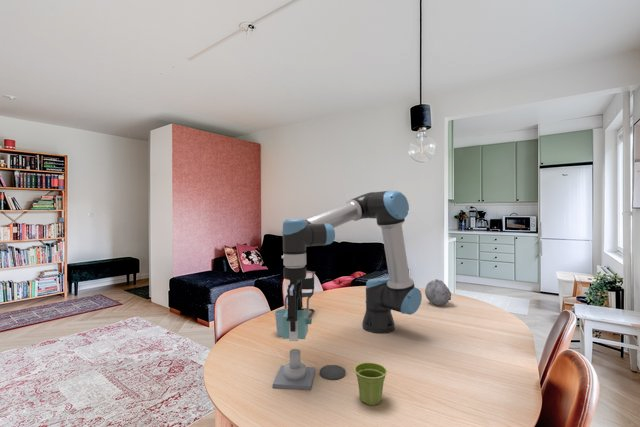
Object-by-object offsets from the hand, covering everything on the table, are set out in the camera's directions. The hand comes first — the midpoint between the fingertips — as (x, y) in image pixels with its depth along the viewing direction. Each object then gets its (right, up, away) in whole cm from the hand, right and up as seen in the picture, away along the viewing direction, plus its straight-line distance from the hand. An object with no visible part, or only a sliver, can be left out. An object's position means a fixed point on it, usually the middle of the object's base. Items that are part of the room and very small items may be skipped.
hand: (295, 335), depth 104 cm
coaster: (+12, -14, +4) cm, 19 cm away
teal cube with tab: (0, 0, 0) cm, 0 cm away
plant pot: (+23, -14, -12) cm, 29 cm away
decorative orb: (+78, -14, +83) cm, 115 cm away
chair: (-2, -14, +65) cm, 67 cm away
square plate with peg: (0, -14, 0) cm, 14 cm away
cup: (-8, -14, +38) cm, 41 cm away
